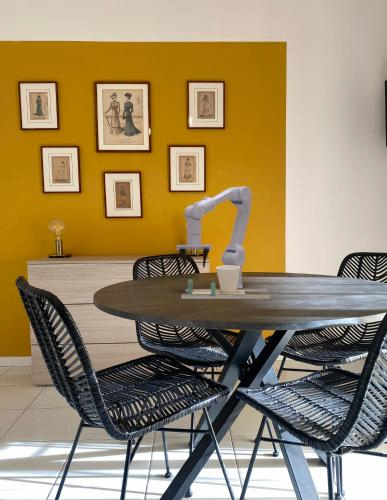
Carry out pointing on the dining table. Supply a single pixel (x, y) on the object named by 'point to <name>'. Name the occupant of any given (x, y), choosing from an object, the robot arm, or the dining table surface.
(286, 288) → the dining table surface
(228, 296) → the lane rails
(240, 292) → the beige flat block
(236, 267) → the cup
